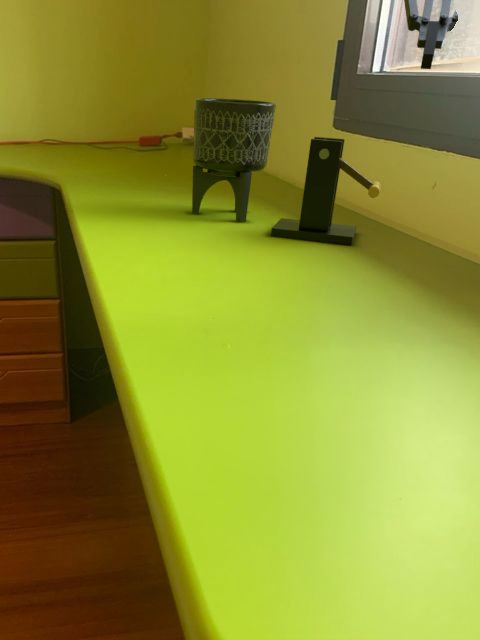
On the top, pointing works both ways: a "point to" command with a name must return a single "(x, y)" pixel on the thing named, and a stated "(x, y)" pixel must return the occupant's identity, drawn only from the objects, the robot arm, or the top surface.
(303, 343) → the top surface
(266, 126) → the planter
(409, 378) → the top surface
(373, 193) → the lever
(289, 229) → the bracket
